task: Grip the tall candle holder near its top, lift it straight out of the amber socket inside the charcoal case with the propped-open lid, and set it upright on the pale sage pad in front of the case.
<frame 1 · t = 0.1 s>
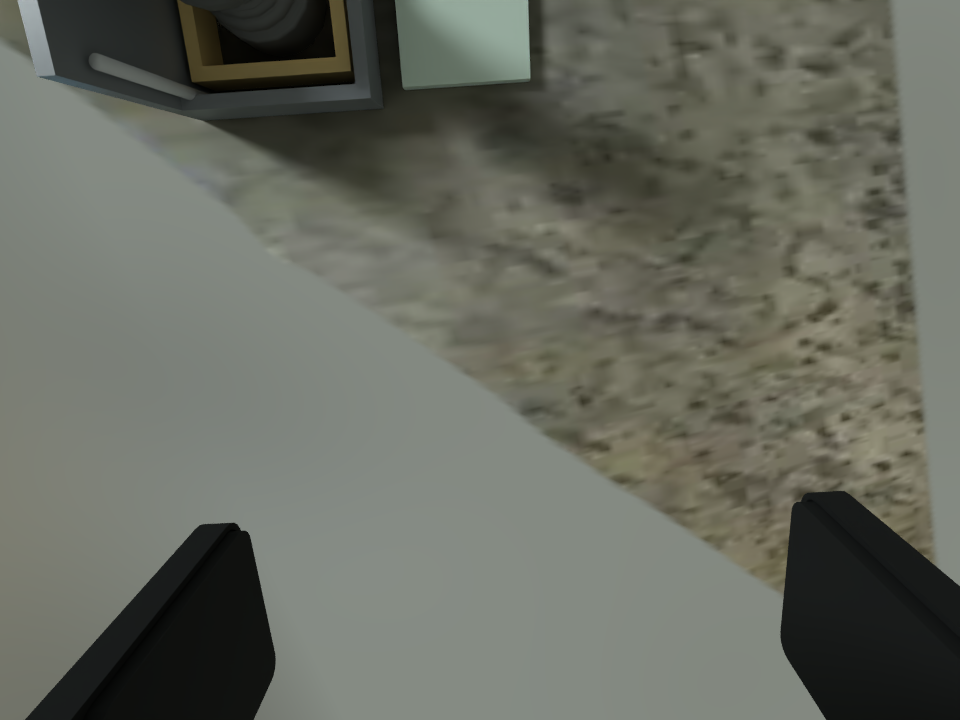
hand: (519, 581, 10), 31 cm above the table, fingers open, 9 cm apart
candle holder: (278, 2, 35), resting in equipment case
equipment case: (276, 1, 35), on the table
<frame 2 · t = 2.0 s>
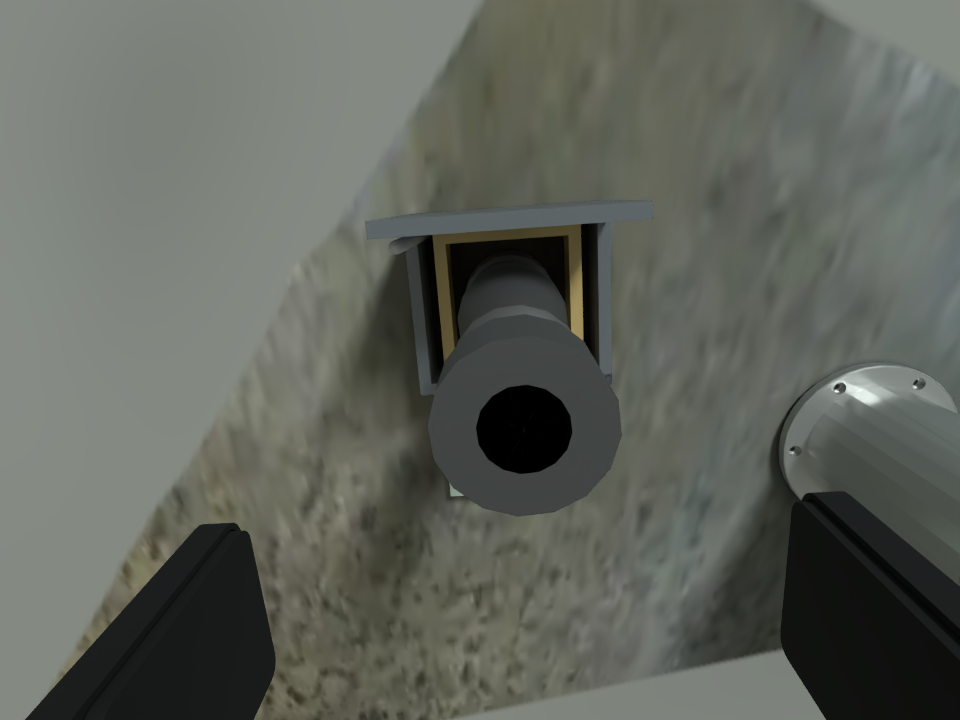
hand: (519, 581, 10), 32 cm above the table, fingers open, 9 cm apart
candle holder: (509, 292, 41), resting in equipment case
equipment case: (509, 293, 40), on the table
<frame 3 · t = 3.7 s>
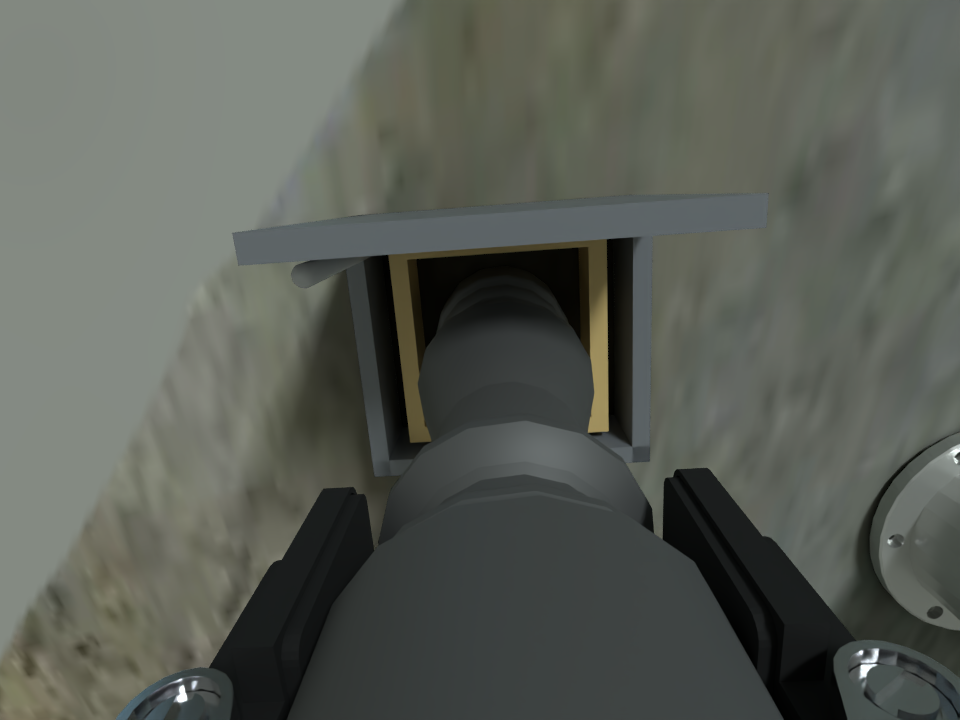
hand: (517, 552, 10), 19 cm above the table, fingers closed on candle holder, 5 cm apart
candle holder: (501, 325, 29), resting in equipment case, touching gripper
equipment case: (501, 326, 29), on the table
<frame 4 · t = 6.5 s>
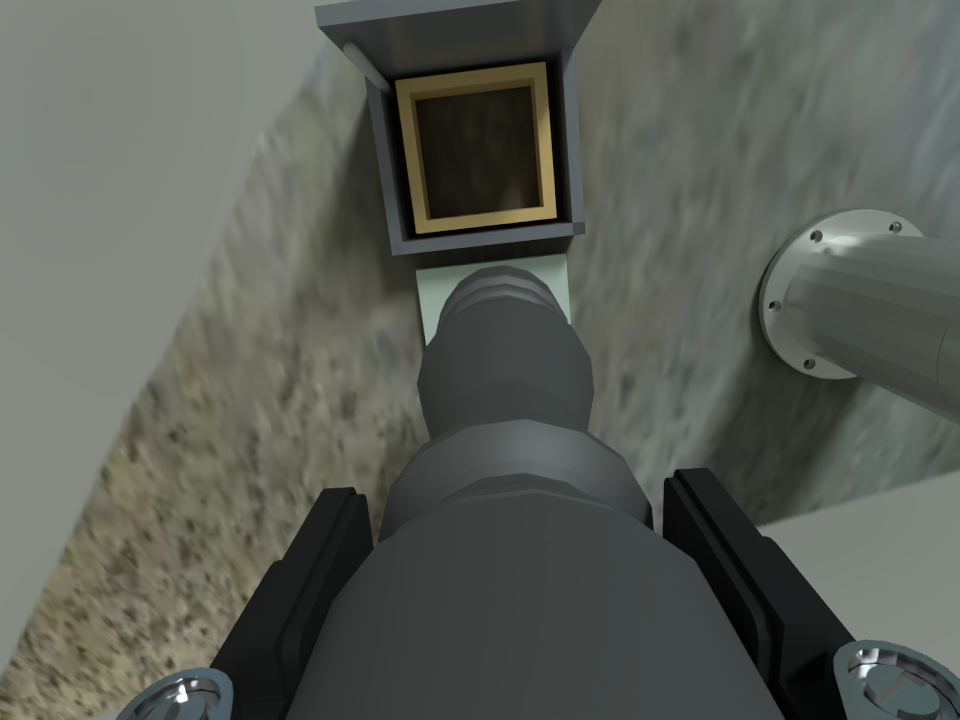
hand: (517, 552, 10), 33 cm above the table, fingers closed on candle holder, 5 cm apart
candle holder: (501, 325, 29), point 14 cm above the table, touching gripper
sage pad: (495, 313, 43), on the table
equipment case: (478, 154, 40), on the table
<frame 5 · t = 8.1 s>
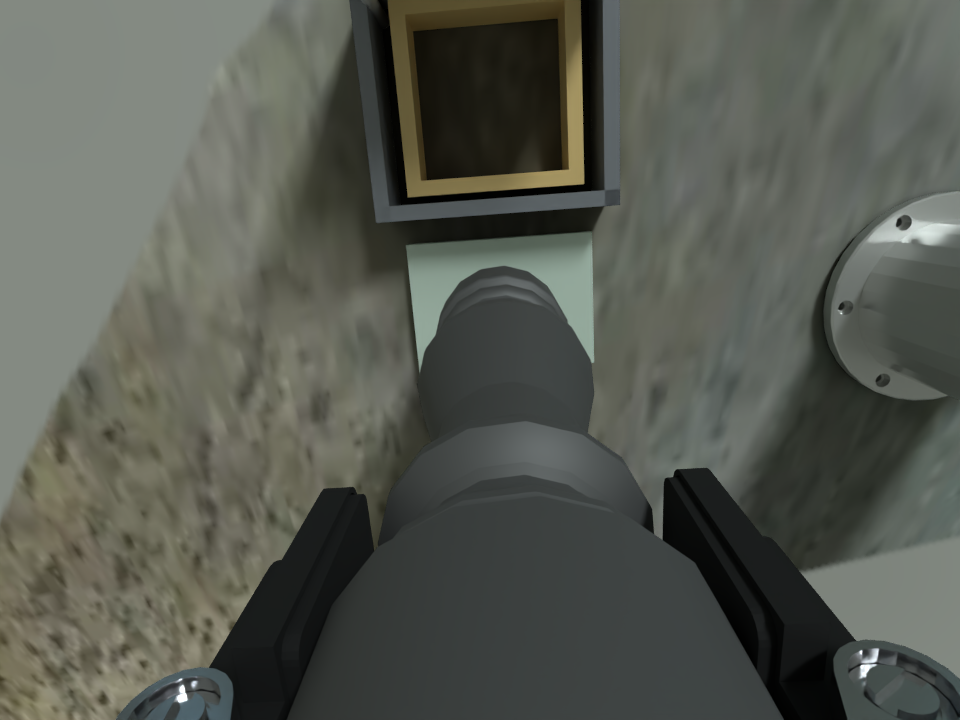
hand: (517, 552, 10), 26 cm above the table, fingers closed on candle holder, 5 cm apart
candle holder: (501, 325, 29), point 7 cm above the table, touching gripper
sage pad: (502, 302, 35), on the table
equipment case: (489, 103, 32), on the table
when the fingers open (21 cm above the table, at t = 9.4 s): candle holder drops 1 cm, resting on sage pad.
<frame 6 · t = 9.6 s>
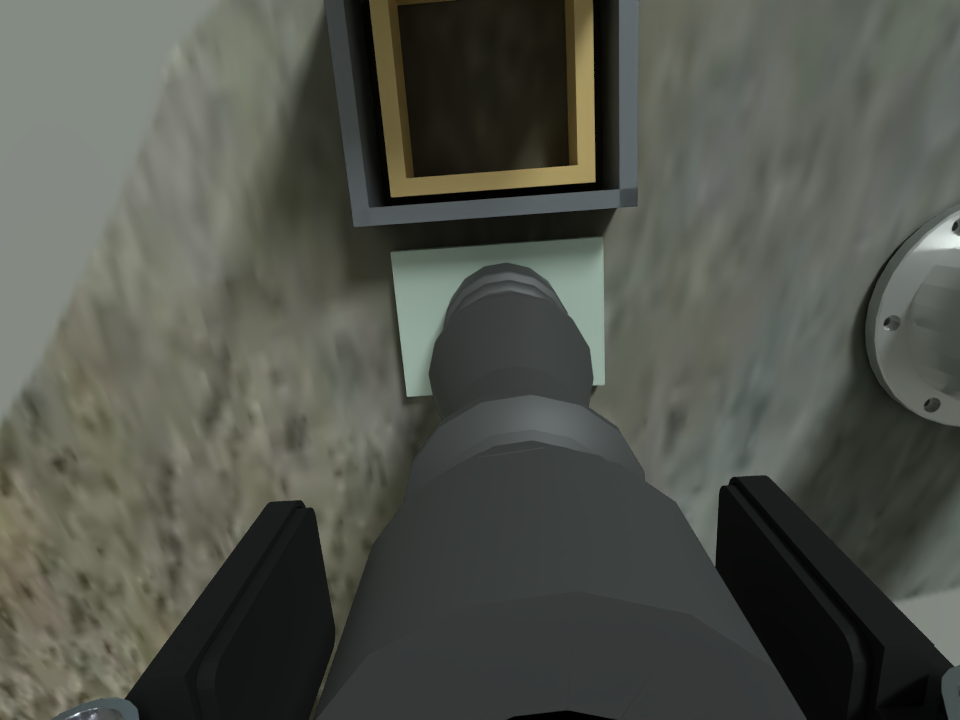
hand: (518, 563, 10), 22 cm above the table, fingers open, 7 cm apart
candle holder: (504, 319, 30), point 1 cm above the table, touching sage pad
sage pad: (500, 316, 31), on the table
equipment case: (486, 89, 28), on the table
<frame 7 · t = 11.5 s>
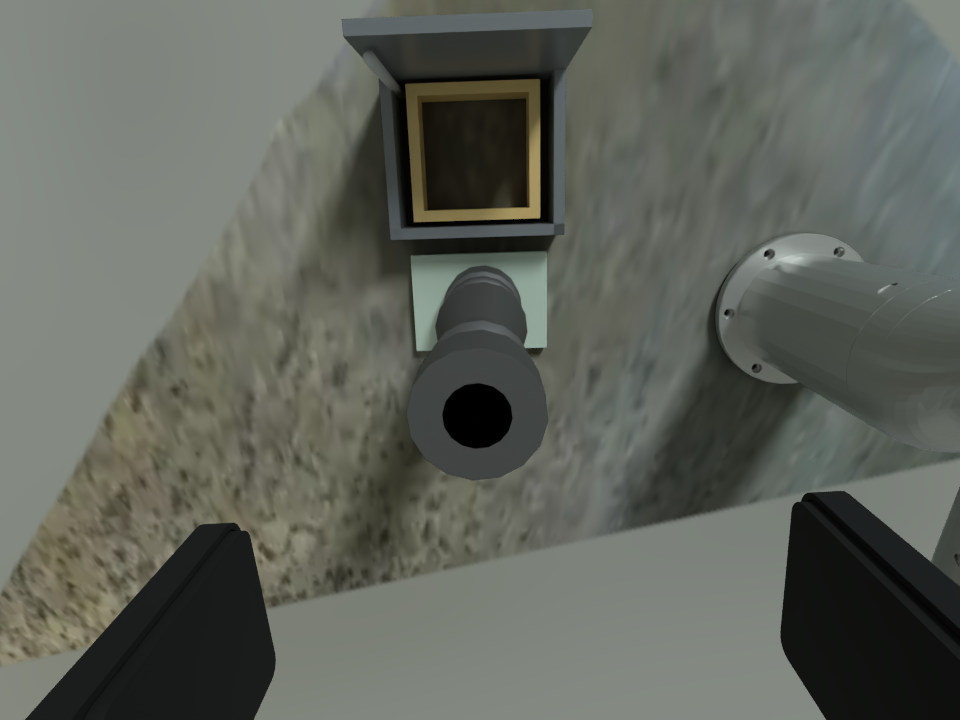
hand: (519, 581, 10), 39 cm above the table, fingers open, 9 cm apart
candle holder: (482, 302, 47), point 1 cm above the table, touching sage pad
sage pad: (480, 300, 47), on the table
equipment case: (475, 155, 44), on the table
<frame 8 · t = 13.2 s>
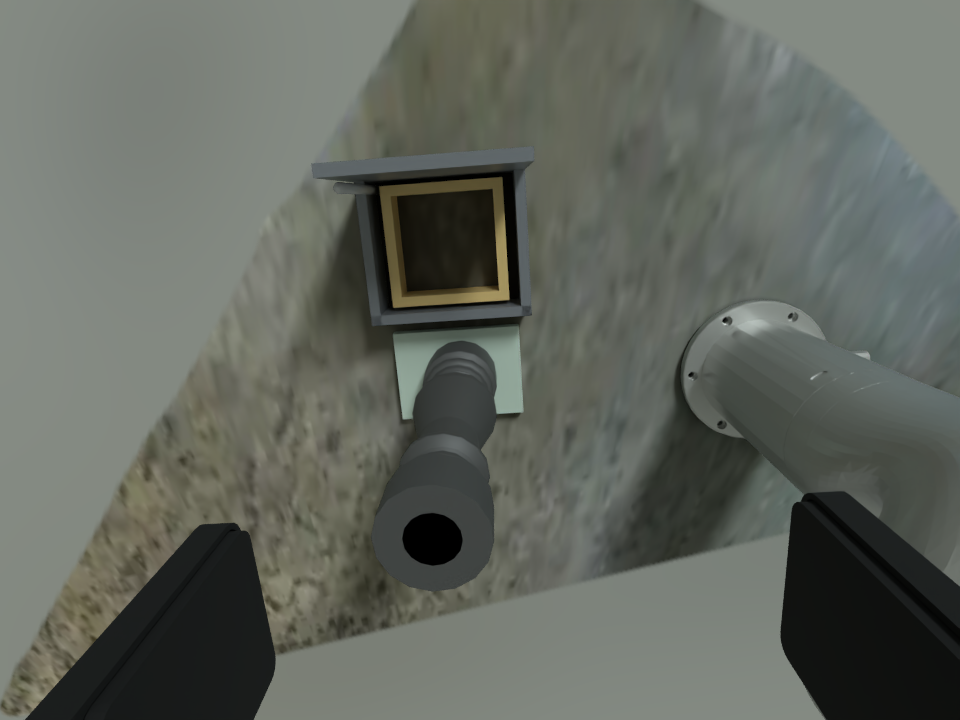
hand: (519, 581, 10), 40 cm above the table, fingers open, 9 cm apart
candle holder: (461, 373, 50), point 1 cm above the table, touching sage pad
sage pad: (459, 370, 51), on the table
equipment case: (448, 241, 48), on the table
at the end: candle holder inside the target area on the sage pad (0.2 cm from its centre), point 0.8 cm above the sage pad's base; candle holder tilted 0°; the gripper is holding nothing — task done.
